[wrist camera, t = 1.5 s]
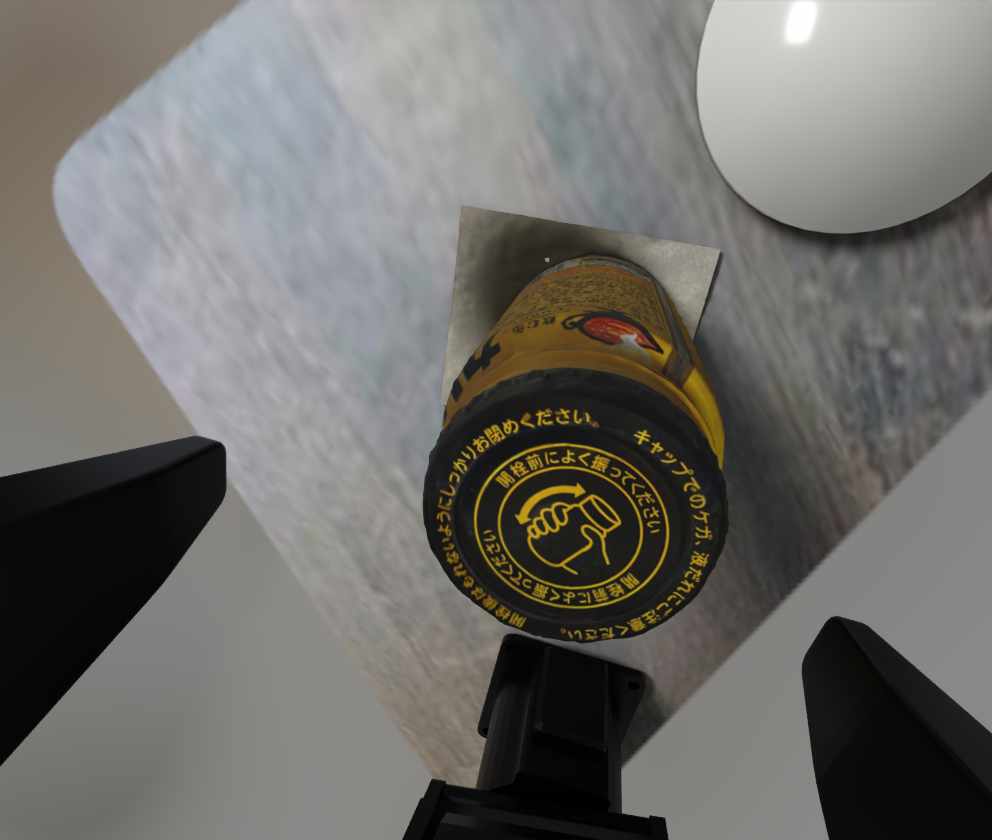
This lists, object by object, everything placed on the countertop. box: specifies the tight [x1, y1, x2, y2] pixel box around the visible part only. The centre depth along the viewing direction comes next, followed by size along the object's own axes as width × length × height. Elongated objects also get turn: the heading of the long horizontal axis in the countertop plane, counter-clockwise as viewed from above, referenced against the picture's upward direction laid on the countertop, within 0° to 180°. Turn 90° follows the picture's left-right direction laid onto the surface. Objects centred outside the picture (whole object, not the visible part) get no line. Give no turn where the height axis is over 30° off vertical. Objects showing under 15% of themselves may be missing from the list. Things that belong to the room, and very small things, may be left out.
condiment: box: [423, 206, 729, 643], centre depth 15 cm, size 7×8×12 cm
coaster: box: [695, 0, 992, 233], centre depth 16 cm, size 9×9×1 cm
